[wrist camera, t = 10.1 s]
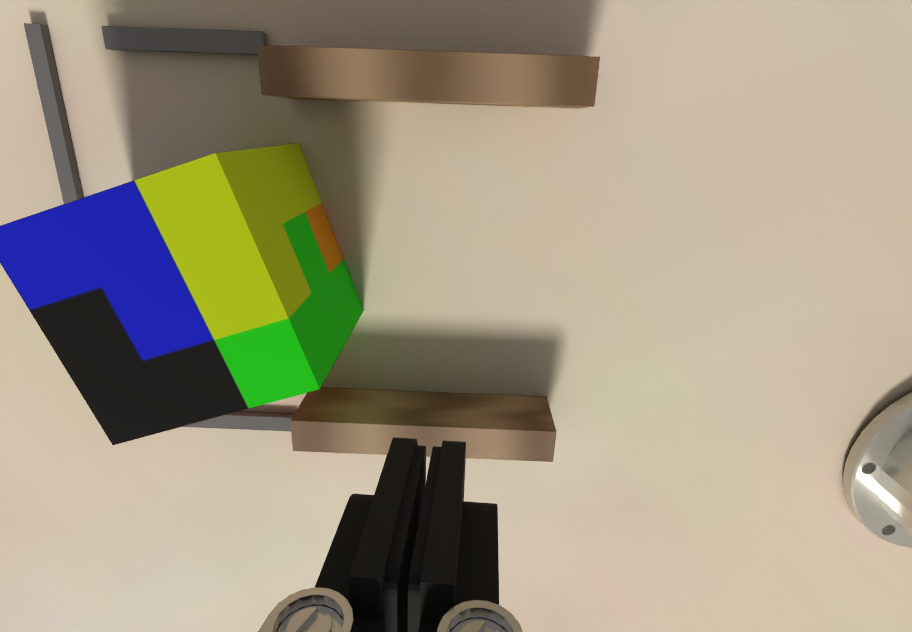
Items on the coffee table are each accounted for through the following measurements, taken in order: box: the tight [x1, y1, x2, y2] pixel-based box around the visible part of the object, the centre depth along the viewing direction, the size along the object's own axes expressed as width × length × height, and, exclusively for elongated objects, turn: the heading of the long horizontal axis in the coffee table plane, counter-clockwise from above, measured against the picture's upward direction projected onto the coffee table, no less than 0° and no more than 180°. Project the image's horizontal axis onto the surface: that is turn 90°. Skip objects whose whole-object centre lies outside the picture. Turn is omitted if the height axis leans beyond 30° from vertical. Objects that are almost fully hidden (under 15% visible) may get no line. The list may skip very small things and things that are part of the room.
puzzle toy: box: [0, 143, 364, 445], centre depth 26 cm, size 10×10×10 cm
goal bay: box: [24, 23, 294, 431], centre depth 30 cm, size 12×23×1 cm, turn 178°
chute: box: [257, 45, 600, 462], centre depth 28 cm, size 15×21×4 cm
